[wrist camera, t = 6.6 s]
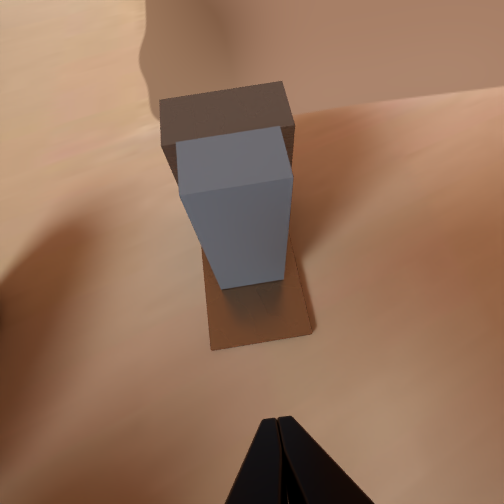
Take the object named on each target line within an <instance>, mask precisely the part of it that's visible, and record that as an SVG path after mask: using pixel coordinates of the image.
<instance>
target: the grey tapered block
mask: <svg viewBox="0 0 504 504" xmlns="http://www.w3.org/2000/svg"><path fill="white" fill-rule="evenodd" d="M176 153H177V169H178V185H179V196H180V199H181V201H182V203H183V205H184V208H185V210H186V212H187V214H188V217H189V219H190V221H191V223H192V226H193V228H194V230H195V232H196V235H197V237H198V239H199V241H200V244H201V246H202V248H203V250H204V252H205V255H206V257H207V259H208V261H209V264H210V266H211V268H212V270H213V273H214V275H215V277H216V279H217V282H218V284H219V286H220V288H221V290H222V289H228V288H234V287H240V286H246V285H252V284H258V283H264V282H271V281H277V280H283V279H284V271H285V261H286V250H287V240H288V230H289V219H290V209H291V198H292V188H293V174H292V170H291V166H290V162H289V158H288V155H287V151H286V147H285V143H284V140H283V136H282V132H281V128H280V126H275V127H269V128H263V129H256V130H250V131H243V132H237V133H231V134H224V135H218V136H211V137H205V138H199V139H192V140H186V141H179V142H176Z"/></svg>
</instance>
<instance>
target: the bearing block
mask: <svg viewBox="0 0 504 504" xmlns="http://www.w3.org/2000/svg"><path fill="white" fill-rule="evenodd" d="M275 126H280V128H281V132H282V136H283V140H284V143H285V147H286V151H287V155H288V158H289V162H290V166H291V168H292V156H293V144H294V131H295V123H294V120H293V117H292V113H291V110H290V106H289V103H288V99H287V96H286V93H285V89H284V86H283V83H282V81H279V82H272V83H266V84H260V85H253V86H246V87H240V88H233V89H227V90H220V91H214V92H207V93H201V94H195V95H188V96H181V97H176V98H168V99H163V100H160V130H161V147H162V149H163V152H164V154H165V156H166V159H167V161H168V163H169V166H170V168H171V170H172V173H173V175H174V177H175V180H176V182H177V184H178V169H177V153H176V142H179V141H186V140H192V139H199V138H205V137H211V136H218V135H224V134H231V133H237V132H243V131H250V130H256V129H263V128H269V127H275ZM178 187H179V185H178ZM201 249H202V259H203V270H204V281H205V292H206V303H207V314H208V324H209V335H210V346H211V350H212V351H214V350H220V349H226V348H232V347H238V346H244V345H250V344H256V343H262V342H268V341H274V340H280V339H286V338H292V337H298V336H304V335H310V334H312V330H311V326H310V321H309V317H308V313H307V308H306V304H305V300H304V296H303V291H302V287H301V283H300V278H299V274H298V270H297V266H296V261H295V257H294V253H293V248H292V244H291V240H290V236H289V231H288V240H287V250H286V261H285V271H284V279H283V280H277V281H271V282H264V283H258V284H252V285H246V286H240V287H234V288H228V289H222V290H221V288H220V286H219V284H218V282H217V279H216V277H215V275H214V273H213V270H212V268H211V266H210V264H209V261H208V259H207V257H206V255H205V252H204V250H203V248H202V246H201Z"/></svg>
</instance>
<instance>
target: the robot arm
mask: <svg viewBox="0 0 504 504" xmlns="http://www.w3.org/2000/svg"><path fill="white" fill-rule="evenodd" d="M288 503H289V504H375V503H374V502H373V501H372V500H371V499H370V498H369V497H368V496H367V495H366V494H365V493H364V492H363V491H362V490H361V489H360V488H359V486H358V485H357V484H356V483H355V482H354V481H353V480H352V479H351V478H350V477H349V476H348V475H347V474H346V473H345V472H344V471H343V470H342V469H341V467H340V466H339V465H338V464H337V463H336V462H335V461H334V460H333V459H332V458H331V457H330V456H329V455H328V454H327V453H326V452H325V451H324V449H323V448H322V447H321V446H320V445H319V444H318V443H317V442H316V441H315V440H314V439H313V438H312V437H311V436H310V435H309V434H308V433H307V431H306V430H305V429H304V428H303V427H302V426H301V425H300V424H299V423H298V422H297V421H296V420H295V419H294V418H293V417H292V416H284V417H279V418H278V419H276V418H269V419H263V420H262V421H261V423H260V425H259V427H258V429H257V432H256V434H255V436H254V438H253V441H252V443H251V445H250V448H249V450H248V452H247V454H246V457H245V459H244V461H243V463H242V466H241V468H240V470H239V472H238V475H237V477H236V479H235V481H234V484H233V486H232V488H231V490H230V493H229V495H228V497H227V499H226V502H225V504H288Z"/></svg>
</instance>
